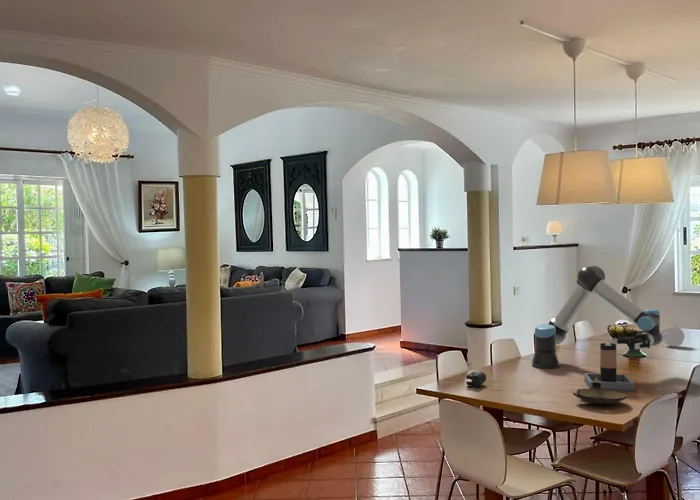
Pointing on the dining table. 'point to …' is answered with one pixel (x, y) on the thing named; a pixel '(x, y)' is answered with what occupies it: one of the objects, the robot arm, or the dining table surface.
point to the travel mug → (608, 362)
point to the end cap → (475, 379)
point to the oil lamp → (599, 395)
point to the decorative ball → (672, 335)
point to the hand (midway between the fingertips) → (622, 344)
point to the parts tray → (620, 385)
